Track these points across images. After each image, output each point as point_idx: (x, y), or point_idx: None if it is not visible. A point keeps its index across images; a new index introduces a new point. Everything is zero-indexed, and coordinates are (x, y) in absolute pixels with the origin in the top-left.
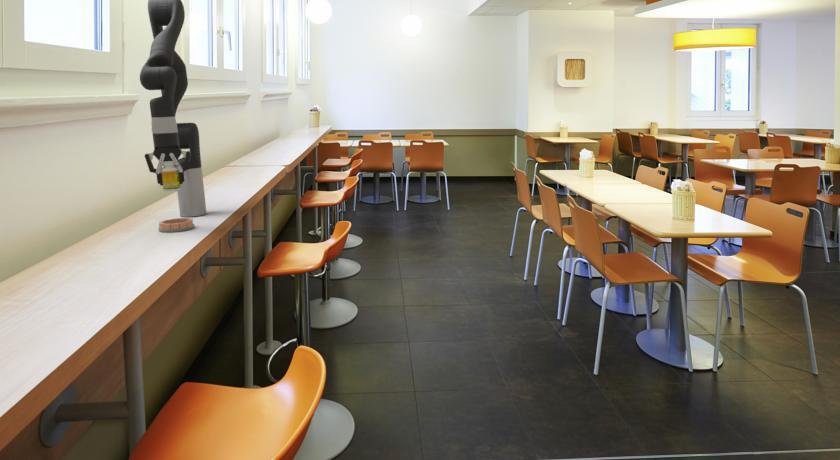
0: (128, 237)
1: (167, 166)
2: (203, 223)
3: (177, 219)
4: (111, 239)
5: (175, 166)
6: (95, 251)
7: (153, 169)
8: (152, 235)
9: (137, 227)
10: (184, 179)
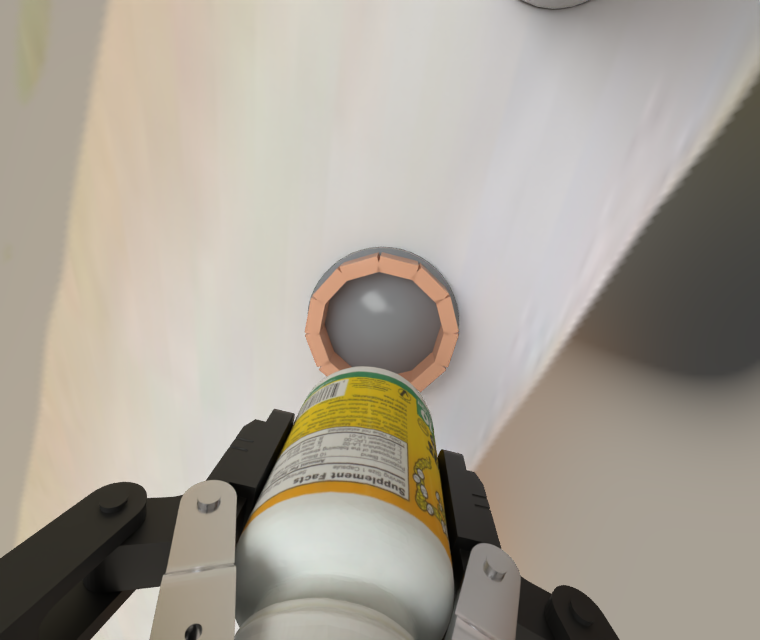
0: (197, 360)
1: None
2: (514, 273)
3: (398, 275)
4: (140, 354)
5: (421, 634)
6: None
7: (129, 590)
8: (281, 384)
9: (223, 147)
10: (483, 489)
